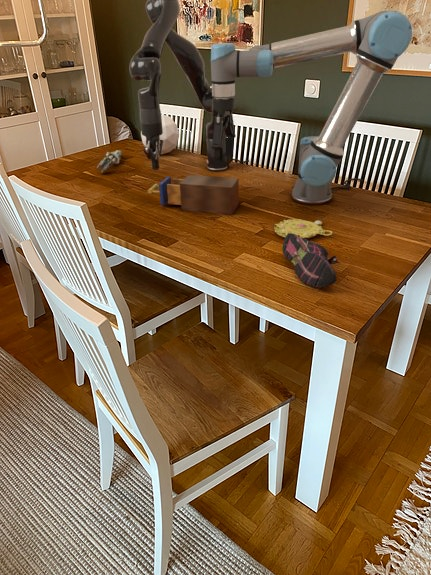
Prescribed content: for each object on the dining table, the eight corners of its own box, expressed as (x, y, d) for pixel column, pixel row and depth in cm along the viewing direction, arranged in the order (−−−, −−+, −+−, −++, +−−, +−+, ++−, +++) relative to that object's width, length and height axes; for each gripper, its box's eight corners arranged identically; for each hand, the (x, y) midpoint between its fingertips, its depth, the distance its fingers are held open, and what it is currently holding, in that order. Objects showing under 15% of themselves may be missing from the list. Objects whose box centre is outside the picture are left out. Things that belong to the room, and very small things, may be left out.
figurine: (101, 154, 197) (119, 141, 223) (91, 167, 200) (110, 152, 227) (114, 165, 199) (130, 151, 225) (103, 178, 203) (121, 162, 229)
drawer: (147, 204, 169) (145, 183, 164) (157, 195, 176) (155, 175, 171) (206, 209, 163) (205, 187, 158) (213, 200, 170) (212, 179, 165)
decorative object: (286, 211, 157) (342, 219, 147) (286, 217, 158) (341, 226, 148) (260, 233, 142) (319, 243, 133) (260, 240, 144) (319, 251, 134)
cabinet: (181, 210, 165) (179, 183, 160) (190, 200, 173) (188, 174, 168) (231, 214, 160) (231, 187, 155) (238, 204, 168) (238, 178, 163)
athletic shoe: (323, 277, 110) (361, 269, 114) (285, 218, 122) (321, 213, 126) (307, 304, 119) (343, 296, 123) (273, 246, 130) (307, 241, 135)
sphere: (153, 165, 235) (133, 132, 232) (185, 147, 237) (165, 113, 235) (153, 156, 216) (131, 120, 214) (188, 137, 218) (167, 100, 216)
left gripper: (148, 116, 162) (153, 163, 171) (133, 124, 151) (139, 174, 160) (167, 117, 160) (171, 164, 169) (153, 125, 149) (158, 175, 159)
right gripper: (222, 90, 155) (223, 151, 167) (200, 104, 135) (203, 172, 147) (243, 91, 153) (243, 152, 165) (224, 104, 133) (225, 173, 145)
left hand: (155, 169), depth 165 cm, fingers closed
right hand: (224, 161), depth 156 cm, fingers open, 13 cm apart
